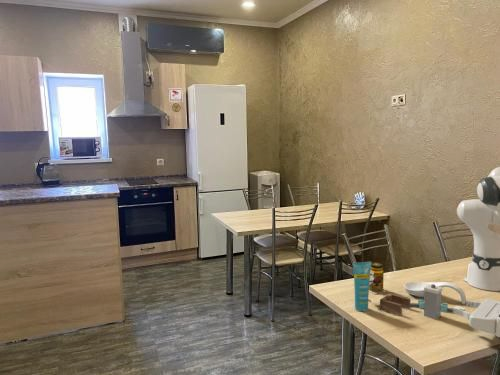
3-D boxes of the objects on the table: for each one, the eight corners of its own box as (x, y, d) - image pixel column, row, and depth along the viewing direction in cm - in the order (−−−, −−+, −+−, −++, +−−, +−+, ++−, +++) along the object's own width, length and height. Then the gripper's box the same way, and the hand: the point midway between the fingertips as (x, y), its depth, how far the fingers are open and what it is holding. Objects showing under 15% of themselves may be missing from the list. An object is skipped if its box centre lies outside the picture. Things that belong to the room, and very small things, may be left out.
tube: (355, 312, 146) (356, 264, 144) (349, 307, 151) (350, 260, 148) (373, 310, 148) (373, 262, 145) (366, 305, 152) (367, 259, 150)
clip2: (423, 304, 151) (423, 299, 151) (425, 308, 148) (425, 303, 148) (417, 304, 152) (417, 299, 152) (419, 308, 148) (419, 303, 148)
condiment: (375, 294, 163) (375, 267, 162) (362, 287, 171) (362, 262, 169) (388, 291, 166) (388, 265, 164) (374, 285, 174) (375, 259, 172)
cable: (402, 302, 154) (402, 297, 154) (464, 311, 144) (465, 306, 144) (401, 306, 151) (401, 301, 150) (465, 316, 141) (465, 311, 141)
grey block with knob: (428, 311, 145) (429, 281, 144) (441, 315, 142) (442, 284, 141) (423, 315, 142) (424, 285, 141) (436, 319, 139) (437, 288, 137)
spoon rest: (400, 296, 161) (401, 280, 160) (406, 287, 170) (407, 272, 170) (464, 308, 148) (465, 291, 147) (466, 298, 157) (467, 281, 156)
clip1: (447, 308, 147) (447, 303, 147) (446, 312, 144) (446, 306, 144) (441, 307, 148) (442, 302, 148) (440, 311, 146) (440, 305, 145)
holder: (390, 302, 154) (390, 293, 154) (410, 308, 148) (410, 298, 148) (379, 309, 148) (380, 299, 148) (400, 315, 142) (400, 305, 142)
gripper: (516, 300, 131) (472, 290, 141) (501, 321, 117) (453, 307, 127) (515, 318, 132) (471, 306, 142) (500, 340, 118) (452, 325, 128)
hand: (462, 307), depth 134 cm, fingers open, 8 cm apart
